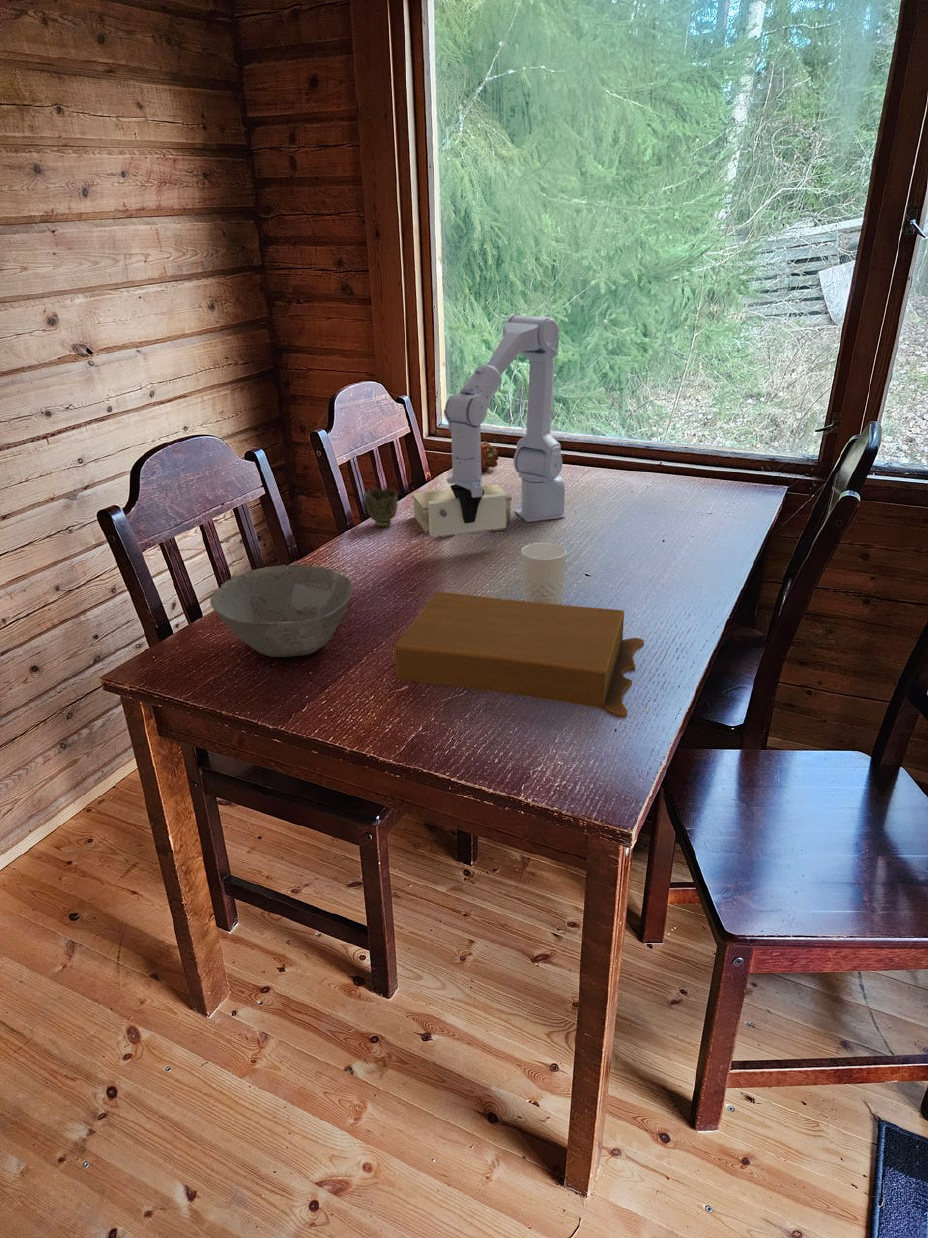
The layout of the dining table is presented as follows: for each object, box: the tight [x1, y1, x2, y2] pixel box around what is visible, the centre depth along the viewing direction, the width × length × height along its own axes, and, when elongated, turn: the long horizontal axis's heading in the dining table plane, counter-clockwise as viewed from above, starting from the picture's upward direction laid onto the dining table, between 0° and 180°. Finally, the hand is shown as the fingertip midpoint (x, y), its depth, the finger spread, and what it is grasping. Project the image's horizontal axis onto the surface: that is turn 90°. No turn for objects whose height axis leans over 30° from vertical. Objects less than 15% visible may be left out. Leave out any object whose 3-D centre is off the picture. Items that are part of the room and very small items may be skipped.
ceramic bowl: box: [210, 563, 354, 658], centre depth 136 cm, size 22×23×10 cm
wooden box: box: [394, 590, 645, 718], centre depth 130 cm, size 23×6×35 cm
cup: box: [363, 487, 399, 529], centre depth 186 cm, size 8×7×8 cm
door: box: [428, 493, 506, 538], centre depth 170 cm, size 16×3×7 cm, turn 106°
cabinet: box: [411, 484, 513, 538], centre depth 188 cm, size 20×15×6 cm
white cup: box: [520, 542, 567, 605], centre depth 149 cm, size 8×8×10 cm
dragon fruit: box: [481, 440, 500, 473], centre depth 224 cm, size 8×8×12 cm
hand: (467, 520), depth 171 cm, fingers closed on door, 2 cm apart
